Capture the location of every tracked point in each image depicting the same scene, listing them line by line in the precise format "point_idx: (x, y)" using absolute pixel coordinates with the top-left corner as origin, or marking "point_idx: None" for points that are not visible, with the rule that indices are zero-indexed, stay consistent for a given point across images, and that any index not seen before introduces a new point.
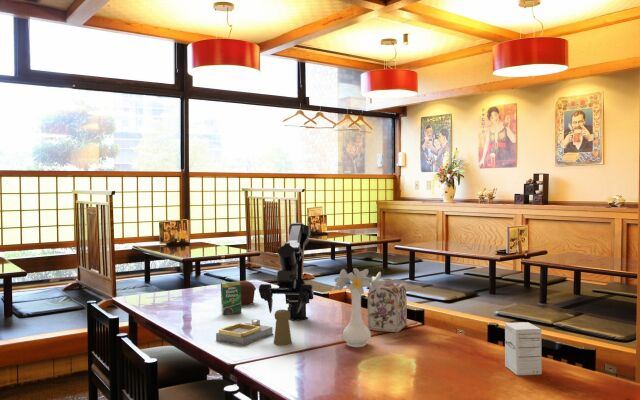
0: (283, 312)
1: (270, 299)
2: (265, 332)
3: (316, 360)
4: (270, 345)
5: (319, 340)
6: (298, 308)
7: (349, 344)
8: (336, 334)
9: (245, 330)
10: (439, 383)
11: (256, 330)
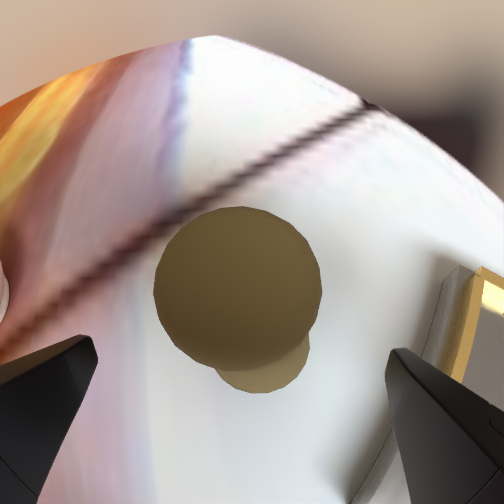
0: (210, 215)
1: (481, 438)
2: (388, 455)
3: (126, 149)
4: None
5: None
6: (53, 345)
7: (5, 281)
8: None
9: None
10: (3, 118)
11: None
